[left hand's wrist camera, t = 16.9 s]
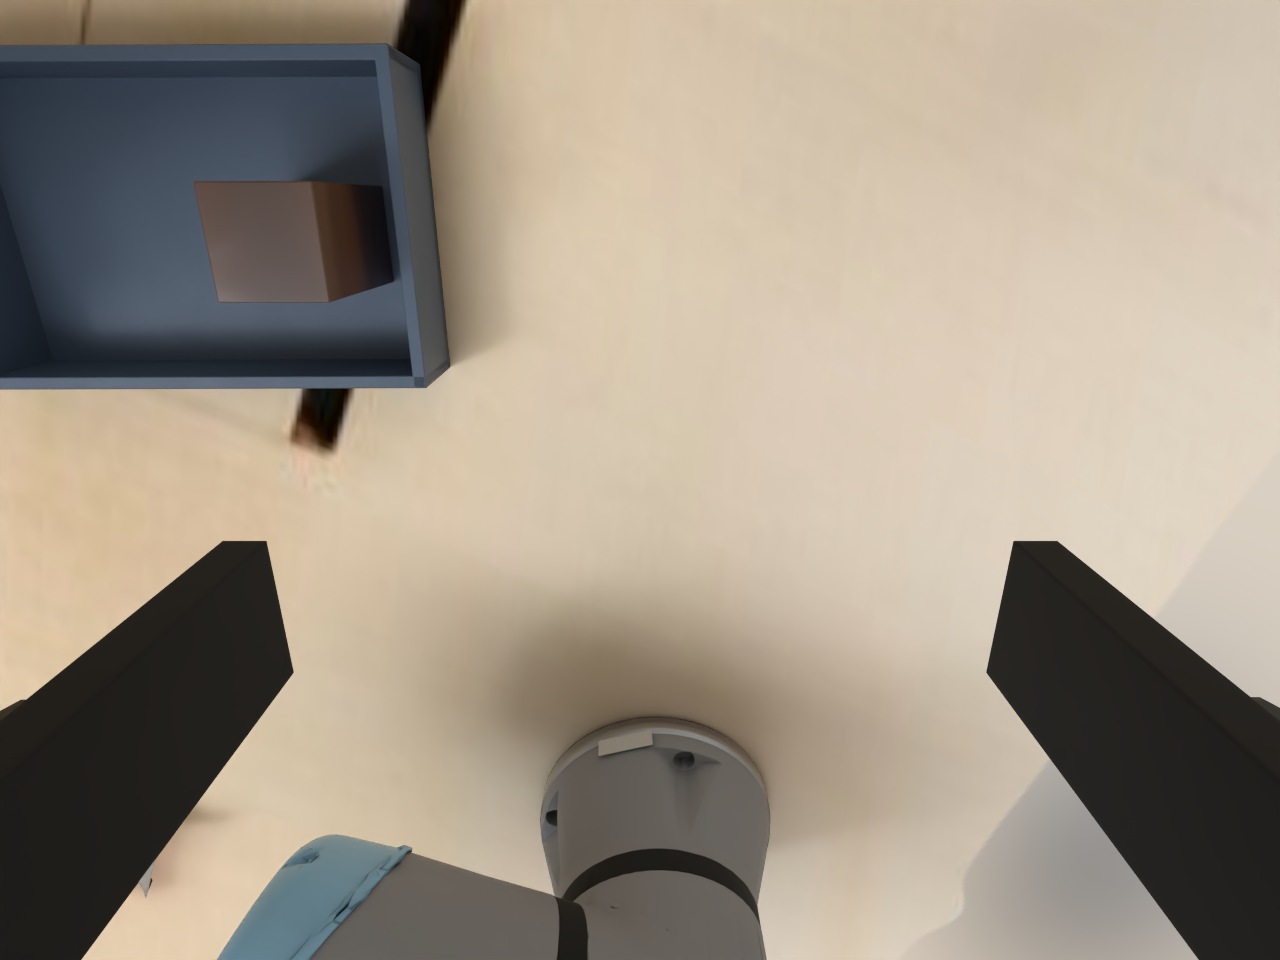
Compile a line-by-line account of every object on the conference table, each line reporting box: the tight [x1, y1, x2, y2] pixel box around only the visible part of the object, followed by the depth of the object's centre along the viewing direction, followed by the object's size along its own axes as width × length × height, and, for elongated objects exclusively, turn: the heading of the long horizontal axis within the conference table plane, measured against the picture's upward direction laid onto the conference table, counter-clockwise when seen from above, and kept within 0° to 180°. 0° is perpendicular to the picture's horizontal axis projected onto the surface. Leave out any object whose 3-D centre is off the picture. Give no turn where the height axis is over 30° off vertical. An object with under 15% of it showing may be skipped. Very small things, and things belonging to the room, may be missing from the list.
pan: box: [0, 44, 450, 389], centre depth 32 cm, size 29×14×7 cm, turn 90°
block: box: [194, 181, 394, 303], centre depth 32 cm, size 4×4×8 cm
